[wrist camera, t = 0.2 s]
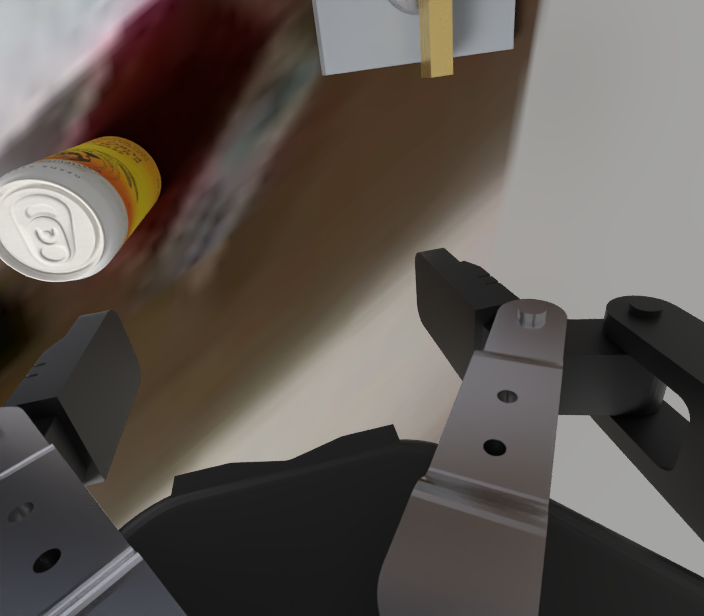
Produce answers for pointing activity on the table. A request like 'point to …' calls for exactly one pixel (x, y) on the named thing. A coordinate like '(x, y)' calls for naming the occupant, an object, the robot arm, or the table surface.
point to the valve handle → (432, 34)
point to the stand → (402, 32)
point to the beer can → (75, 208)
